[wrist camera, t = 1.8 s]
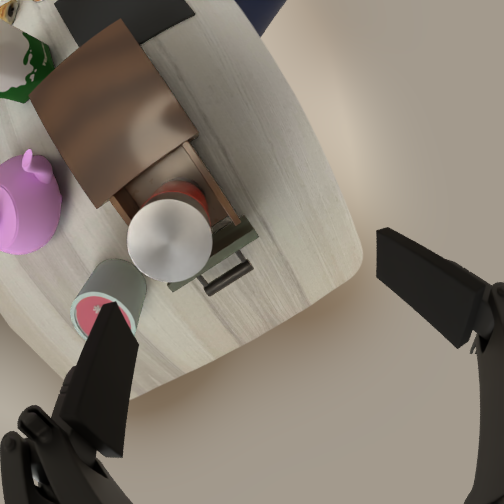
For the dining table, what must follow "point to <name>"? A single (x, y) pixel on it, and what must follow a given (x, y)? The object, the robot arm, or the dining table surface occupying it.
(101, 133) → the cabinet
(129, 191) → the drawer
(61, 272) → the dining table surface
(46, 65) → the soya milk
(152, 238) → the tin
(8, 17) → the pastry
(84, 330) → the mug
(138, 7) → the mat
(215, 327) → the dining table surface
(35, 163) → the teapot
